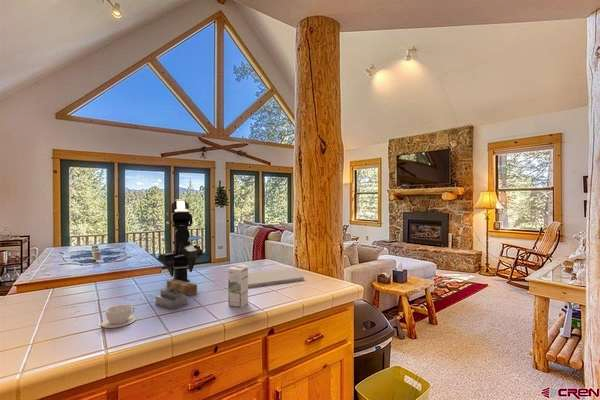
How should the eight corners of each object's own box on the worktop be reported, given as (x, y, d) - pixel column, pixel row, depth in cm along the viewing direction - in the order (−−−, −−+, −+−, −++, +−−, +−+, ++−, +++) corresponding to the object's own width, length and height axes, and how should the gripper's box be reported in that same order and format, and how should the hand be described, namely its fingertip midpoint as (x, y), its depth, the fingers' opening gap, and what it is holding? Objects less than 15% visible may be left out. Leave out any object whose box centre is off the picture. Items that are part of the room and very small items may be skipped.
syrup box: (248, 302, 117) (248, 266, 117) (240, 308, 112) (240, 269, 112) (235, 301, 119) (235, 265, 119) (227, 306, 114) (227, 268, 114)
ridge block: (155, 304, 116) (155, 291, 116) (172, 298, 122) (172, 286, 122) (170, 309, 110) (170, 295, 110) (187, 303, 116) (187, 290, 116)
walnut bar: (166, 289, 135) (166, 281, 135) (175, 287, 138) (175, 279, 138) (188, 296, 126) (188, 286, 126) (196, 293, 129) (196, 284, 129)
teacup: (110, 332, 92) (110, 316, 92) (95, 324, 97) (95, 310, 97) (142, 320, 101) (142, 306, 101) (126, 314, 106) (126, 301, 106)
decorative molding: (302, 285, 151) (294, 275, 160) (304, 277, 150) (295, 267, 159) (236, 295, 136) (231, 284, 144) (236, 285, 135) (231, 275, 143)
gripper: (173, 243, 120) (173, 282, 120) (210, 238, 135) (210, 272, 135) (157, 240, 126) (157, 277, 126) (195, 236, 142) (195, 269, 142)
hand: (181, 274), depth 132 cm, fingers open, 9 cm apart
